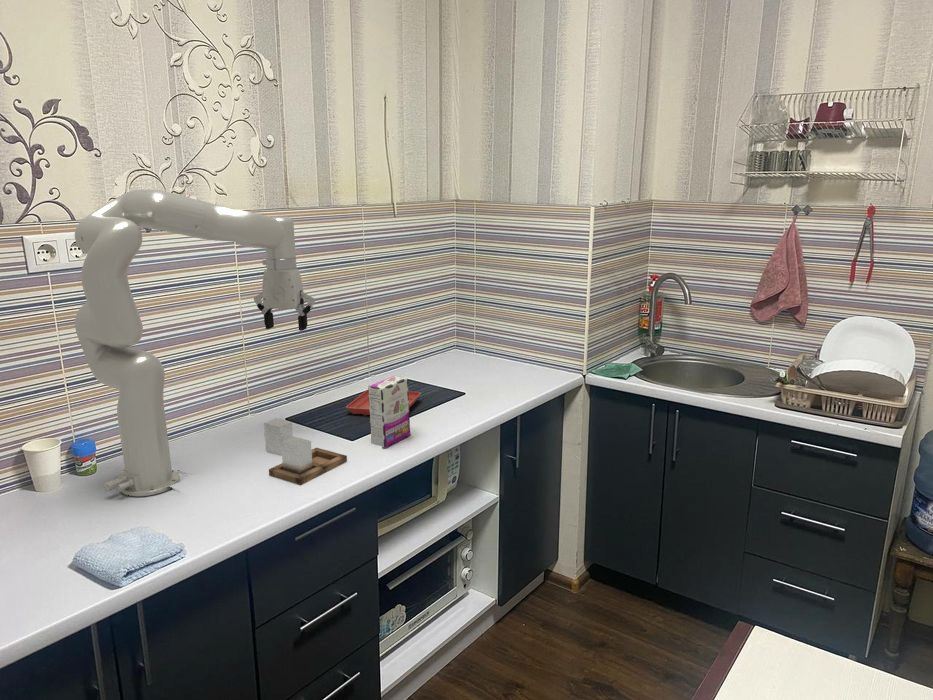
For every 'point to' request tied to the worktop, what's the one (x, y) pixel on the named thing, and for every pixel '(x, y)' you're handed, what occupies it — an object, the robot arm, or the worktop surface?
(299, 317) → the robot arm
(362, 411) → the plant saucer
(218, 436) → the worktop surface
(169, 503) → the worktop surface
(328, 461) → the wooden divided tray
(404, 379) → the candy bar box
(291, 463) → the block
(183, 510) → the worktop surface
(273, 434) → the billet
